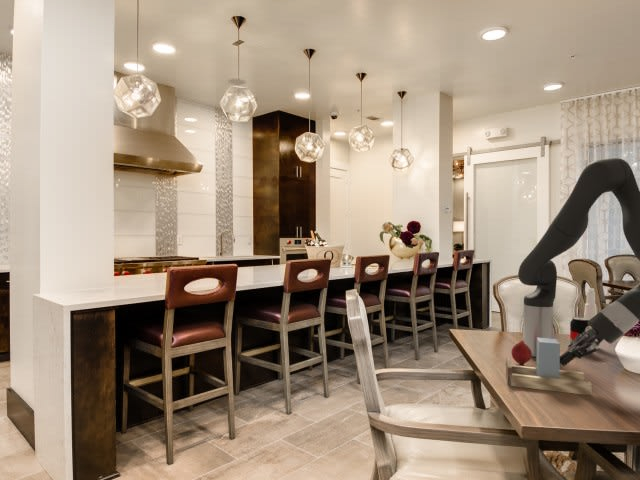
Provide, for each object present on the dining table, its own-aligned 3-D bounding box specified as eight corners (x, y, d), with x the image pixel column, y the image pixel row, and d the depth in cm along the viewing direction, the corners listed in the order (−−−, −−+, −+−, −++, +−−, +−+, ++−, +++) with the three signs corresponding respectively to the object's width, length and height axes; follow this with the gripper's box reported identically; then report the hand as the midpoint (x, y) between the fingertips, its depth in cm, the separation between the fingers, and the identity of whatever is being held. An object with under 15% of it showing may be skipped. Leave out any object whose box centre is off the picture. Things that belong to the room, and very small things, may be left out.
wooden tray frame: (583, 382, 123) (583, 365, 123) (591, 395, 114) (591, 376, 114) (505, 374, 130) (506, 357, 130) (507, 385, 121) (507, 367, 121)
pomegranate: (522, 368, 136) (523, 343, 136) (507, 363, 142) (507, 339, 141) (535, 366, 139) (535, 341, 139) (519, 361, 144) (520, 337, 144)
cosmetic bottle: (594, 349, 161) (595, 289, 161) (577, 346, 166) (578, 288, 166) (602, 347, 164) (603, 289, 164) (585, 344, 169) (586, 287, 169)
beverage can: (573, 353, 156) (573, 319, 156) (567, 348, 162) (568, 316, 162) (592, 354, 154) (593, 320, 154) (586, 350, 160) (587, 317, 160)
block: (555, 377, 124) (556, 339, 124) (559, 384, 118) (559, 343, 118) (536, 375, 126) (536, 337, 125) (538, 382, 120) (539, 341, 120)
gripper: (595, 307, 124) (546, 346, 128) (608, 315, 111) (553, 358, 116) (617, 327, 122) (566, 366, 126) (632, 338, 109) (575, 381, 114)
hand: (560, 362), depth 121 cm, fingers closed
